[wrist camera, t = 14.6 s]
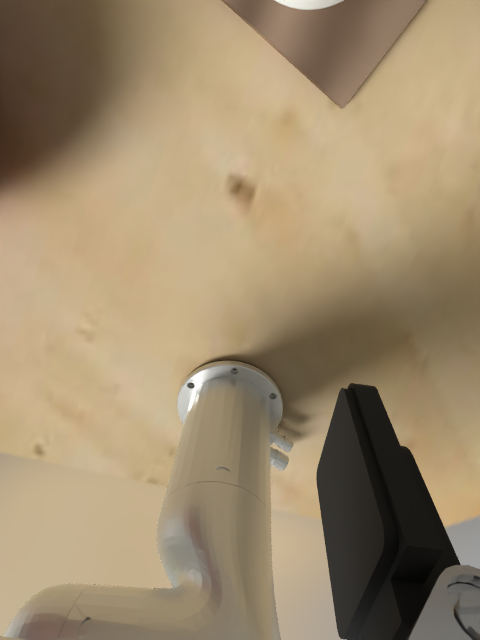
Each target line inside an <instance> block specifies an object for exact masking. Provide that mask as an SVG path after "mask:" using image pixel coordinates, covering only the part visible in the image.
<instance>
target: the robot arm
mask: <svg viewBox="0 0 480 640" xmlns="http://www.w3.org/2000/svg"><path fill="white" fill-rule="evenodd" d="M177 410H178V414H179V417H180V419H181V421H182V423H183V425H184V426H183V430H182V434H181V437H180V441H179V445H178V449H177V452H176V456H175V460H174V464H173V467H172V471H171V475H170V478H169V482H168V486H167V490H166V493H165V498H164V501H163V505H162V508H161V512H160V516H159V520H158V525H157V547H158V553H159V556H160V559H161V563H162V565H163V567H164V570H165V572H166V574H167V577H168V578H169V580H170V582H171V584H172V586H173V588H171V589H165V588H153V589H147V588H134V587H121V586H109V585H96V584H93V585H91V584H61V585H55V586H52V587H49V588H46V589H44V590H42V591H40V592H39V593H37V594H35V595H34V596H33V597H31V598H30V599H29V600H28V601H27V602H26V603H25V604H24V605H23V606H22V607H21V608H20V609H19V611H18V612H17V614H16V615H15V616H14V618H13V619H12V621H11V622H10V624H9V626H8V628H7V629H6V631H5V633H4V635H3V637H2V636H0V640H281V638H280V632H279V625H278V618H277V612H276V604H275V596H274V584H273V571H272V546H271V476H270V465H272V466H273V467H275V468H277V469H278V470H280V471H282V470H284V469H285V468H286V466H287V464H288V462H289V458H288V456H287V455H285V454H283V453H282V452H280V451H278V450H277V449H274V448H272V447H270V445H271V444H273V443H274V444H276V445H277V446H278V447H280V448H281V449H283V450H285V451H286V452H289V451H290V450H291V449H292V447H293V442H292V441H291V440H289V439H288V438H286V437H284V436H282V435H280V434H279V431H278V430H277V427H278V425H279V423H280V421H281V418H282V413H283V403H282V397H281V393H280V391H279V389H278V387H277V385H276V384H275V382H274V381H273V380H272V379H271V378H270V377H269V376H268V375H267V374H266V373H265V372H263V371H262V370H260V369H258V368H256V367H254V366H252V365H250V364H246V363H242V362H239V361H217V362H212V363H208V364H206V365H204V366H201V367H199V368H197V369H196V370H195V371H193V372H192V373H191V374H190V375H189V376H188V377H187V378H186V379H185V380H184V382H183V384H182V385H181V388H180V391H179V394H178V399H177ZM317 488H318V495H319V502H320V509H321V517H322V524H323V531H324V537H325V545H326V552H327V559H328V566H329V574H330V581H331V588H332V595H333V602H334V609H335V616H336V623H337V629H338V634H339V636H340V638H341V639H347V640H480V569H477V568H474V567H471V566H468V565H460V562H459V560H458V558H457V556H456V553H455V551H454V549H453V546H452V544H451V542H450V540H449V537H448V535H447V533H446V530H445V528H444V526H443V523H442V521H441V519H440V517H439V514H438V512H437V510H436V507H435V505H434V503H433V501H432V498H431V496H430V494H429V491H428V489H427V487H426V485H425V482H424V480H423V478H422V475H421V473H420V471H419V469H418V466H417V464H416V462H415V459H414V457H413V455H412V453H411V452H410V450H409V449H408V448H407V447H404V446H400V444H399V441H398V439H397V437H396V434H395V432H394V429H393V427H392V424H391V422H390V420H389V417H388V415H387V412H386V410H385V407H384V405H383V403H382V400H381V398H380V395H379V393H378V390H377V389H376V387H374V386H368V385H361V384H353V383H351V384H350V385H349V386H348V389H344V388H342V389H341V390H340V392H339V395H338V399H337V402H336V405H335V409H334V412H333V416H332V419H331V423H330V426H329V430H328V433H327V437H326V440H325V444H324V447H323V451H322V454H321V458H320V461H319V464H318V468H317Z"/></svg>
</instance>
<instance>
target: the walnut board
mask: <svg viewBox="0 0 480 640" xmlns="http://www.w3.org/2000/svg"><path fill="white" fill-rule="evenodd" d="M222 1H223V2H224V3H225V4H227V5H228V6H229V7H230V8H231V9H232V10H233V11H234V12H235V13H236V14H238V15H239V16H240V17H241V18H242V19H243V20H244V21H245V22H246V23H247V24H249V25H250V26H251V27H252V28H253V29H254V30H255V31H256V32H257V33H258V34H260V35H261V36H262V37H263V38H264V39H265V40H266V41H267V42H268V43H269V44H271V45H272V46H273V47H274V48H275V49H276V50H277V51H278V52H279V53H280V54H282V55H283V56H284V57H285V58H286V59H287V60H288V61H289V62H290V63H291V64H293V65H294V66H295V67H296V68H297V69H298V70H299V71H300V72H301V73H302V74H304V75H305V76H306V77H307V78H308V79H309V80H310V81H311V82H312V83H313V84H315V85H316V86H317V87H318V88H319V89H320V90H321V91H322V92H323V93H324V94H326V95H327V96H328V97H329V98H330V99H331V100H332V101H333V102H334V103H335V104H337V105H338V106H339V107H340V108H344V107H345V106H346V104H347V103H348V102H349V100H350V99H351V98H352V96H353V95H354V94H355V93H356V91H357V90H358V89H359V87H360V86H361V85H362V83H363V82H364V81H365V79H366V78H367V77H368V76H369V74H370V73H371V72H372V70H373V69H374V68H375V66H376V65H377V64H378V63H379V61H380V60H381V59H382V57H383V56H384V55H385V53H386V52H387V51H388V49H389V48H390V47H391V46H392V44H393V43H394V42H395V40H396V39H397V38H398V36H399V35H400V34H401V32H402V31H403V30H404V29H405V27H406V26H407V25H408V23H409V22H410V21H411V19H412V18H413V17H414V16H415V14H416V13H417V12H418V10H419V9H420V8H421V6H422V5H423V4H424V2H425V1H426V0H222Z"/></svg>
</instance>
